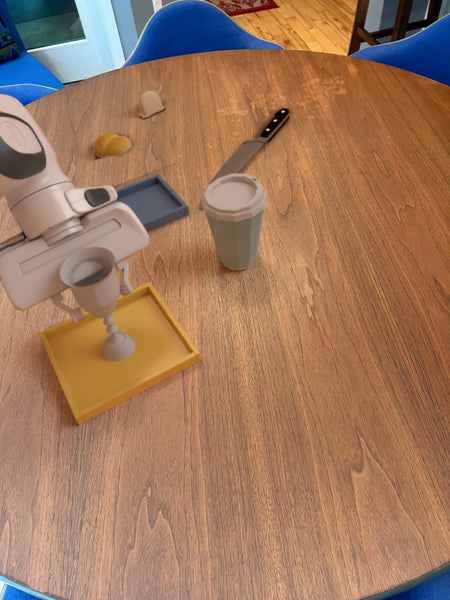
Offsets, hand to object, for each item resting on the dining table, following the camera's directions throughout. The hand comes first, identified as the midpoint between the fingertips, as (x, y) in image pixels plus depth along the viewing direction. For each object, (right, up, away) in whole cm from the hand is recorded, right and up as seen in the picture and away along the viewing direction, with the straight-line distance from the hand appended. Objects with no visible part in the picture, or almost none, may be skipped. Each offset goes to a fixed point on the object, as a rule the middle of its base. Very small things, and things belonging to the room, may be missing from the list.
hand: (105, 307), depth 66 cm
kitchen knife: (+22, +33, +41) cm, 57 cm away
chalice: (0, -7, +8) cm, 11 cm away
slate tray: (-1, +19, +31) cm, 37 cm away
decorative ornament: (-2, +50, +59) cm, 77 cm away
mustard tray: (0, -7, +9) cm, 11 cm away
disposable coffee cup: (+19, +8, +21) cm, 29 cm away
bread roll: (-10, +36, +47) cm, 60 cm away
